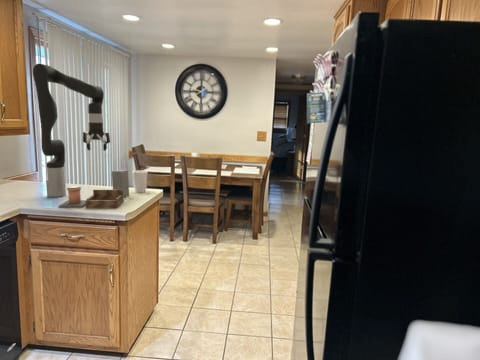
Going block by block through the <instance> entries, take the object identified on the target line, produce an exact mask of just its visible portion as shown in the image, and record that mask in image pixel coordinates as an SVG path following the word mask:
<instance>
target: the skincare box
mask: <svg viewBox="0 0 480 360" xmlns="http://www.w3.org/2000/svg"><path fill="white" fill-rule="evenodd" d="M111 180H112V181H111V182H112V183H111V184H112V190H123V197H127V196H130V187H129V170H128V169H117V170H116V169H115V170H111Z"/></svg>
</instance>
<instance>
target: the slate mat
mask: <svg viewBox="0 0 480 360" xmlns="http://www.w3.org/2000/svg"><path fill="white" fill-rule="evenodd" d="M59 207H61V208H69V209H71V208H74V209H75V208H76V209H77V208H79V209H80V208H85V207H86V200H81V203H79V204H69V199H67V200H66V201H65V202H62V203H60V204H59V205H58V208H59ZM61 208H60V209H61Z"/></svg>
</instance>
